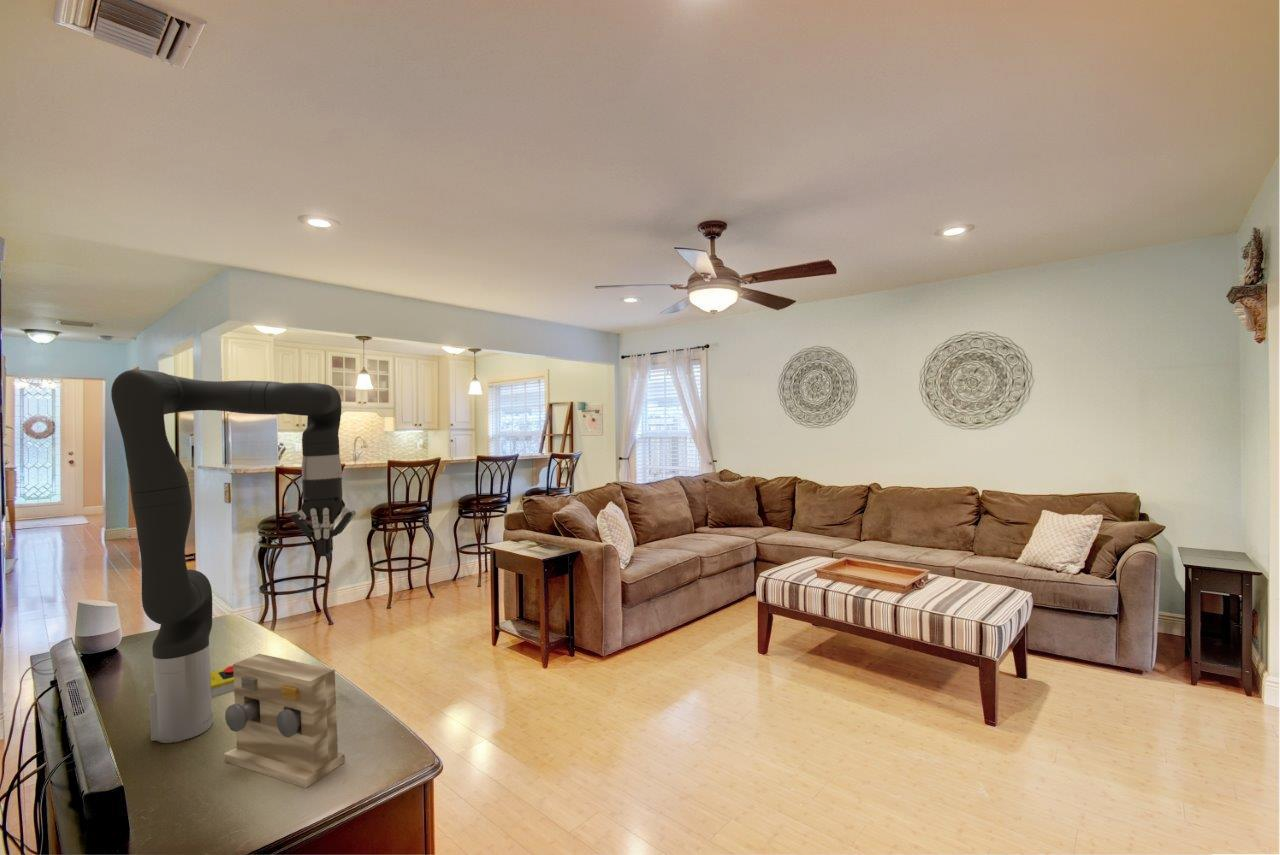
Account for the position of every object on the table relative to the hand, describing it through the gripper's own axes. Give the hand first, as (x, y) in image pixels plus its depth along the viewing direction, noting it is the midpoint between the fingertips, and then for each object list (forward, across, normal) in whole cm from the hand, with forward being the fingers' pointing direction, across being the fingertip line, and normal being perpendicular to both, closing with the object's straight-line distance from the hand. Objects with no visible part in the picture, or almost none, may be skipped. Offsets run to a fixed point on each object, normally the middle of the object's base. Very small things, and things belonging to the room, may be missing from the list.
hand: (325, 555), depth 125 cm
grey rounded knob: (+27, +2, -21) cm, 34 cm away
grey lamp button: (+27, -8, -17) cm, 33 cm away
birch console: (+35, -2, -17) cm, 39 cm away
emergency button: (+36, -31, +19) cm, 51 cm away
